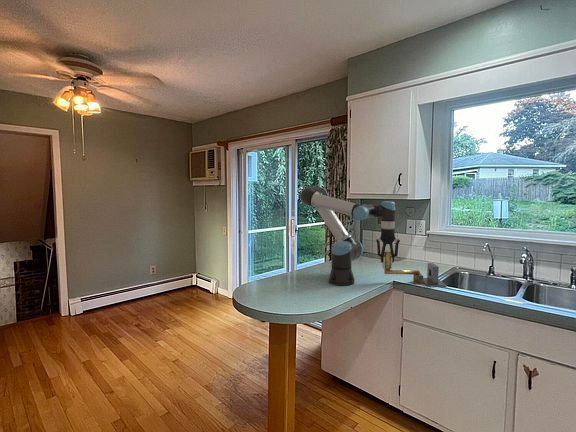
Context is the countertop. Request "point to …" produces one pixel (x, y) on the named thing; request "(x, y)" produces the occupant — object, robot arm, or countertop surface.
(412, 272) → the hook rod
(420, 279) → the rest block
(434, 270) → the grey upright block
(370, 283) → the countertop surface
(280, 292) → the countertop surface
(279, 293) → the countertop surface
